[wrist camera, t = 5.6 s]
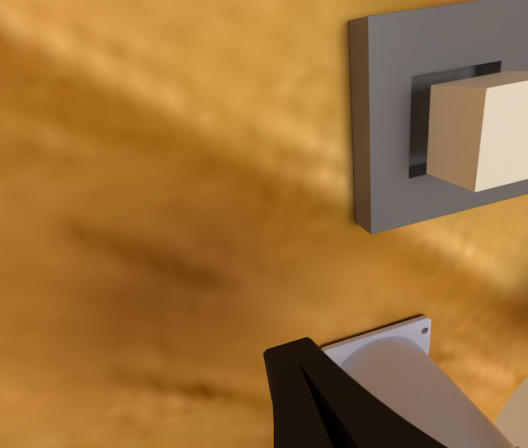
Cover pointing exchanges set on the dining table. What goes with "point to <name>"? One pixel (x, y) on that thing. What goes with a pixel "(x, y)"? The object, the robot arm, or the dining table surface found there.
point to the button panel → (421, 102)
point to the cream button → (479, 130)
